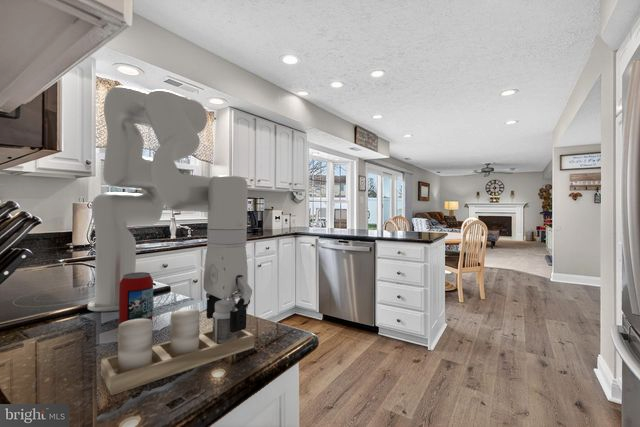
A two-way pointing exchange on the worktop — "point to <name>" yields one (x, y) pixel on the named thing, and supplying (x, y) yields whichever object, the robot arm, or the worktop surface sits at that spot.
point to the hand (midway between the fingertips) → (225, 323)
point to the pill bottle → (222, 322)
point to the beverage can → (135, 297)
